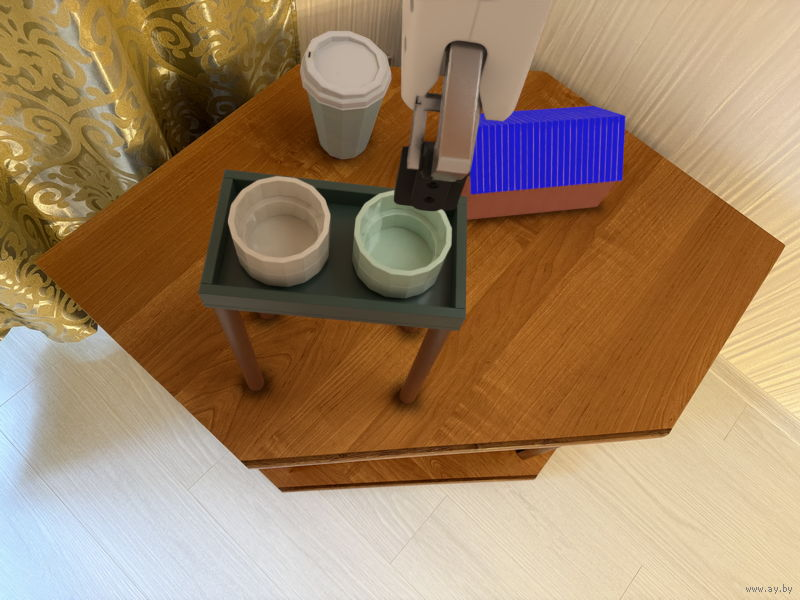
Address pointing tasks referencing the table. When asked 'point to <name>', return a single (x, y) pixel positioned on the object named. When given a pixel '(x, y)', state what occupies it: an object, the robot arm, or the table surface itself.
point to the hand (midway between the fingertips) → (427, 127)
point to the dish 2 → (399, 246)
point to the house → (544, 161)
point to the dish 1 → (280, 230)
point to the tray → (332, 282)
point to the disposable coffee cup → (344, 89)
